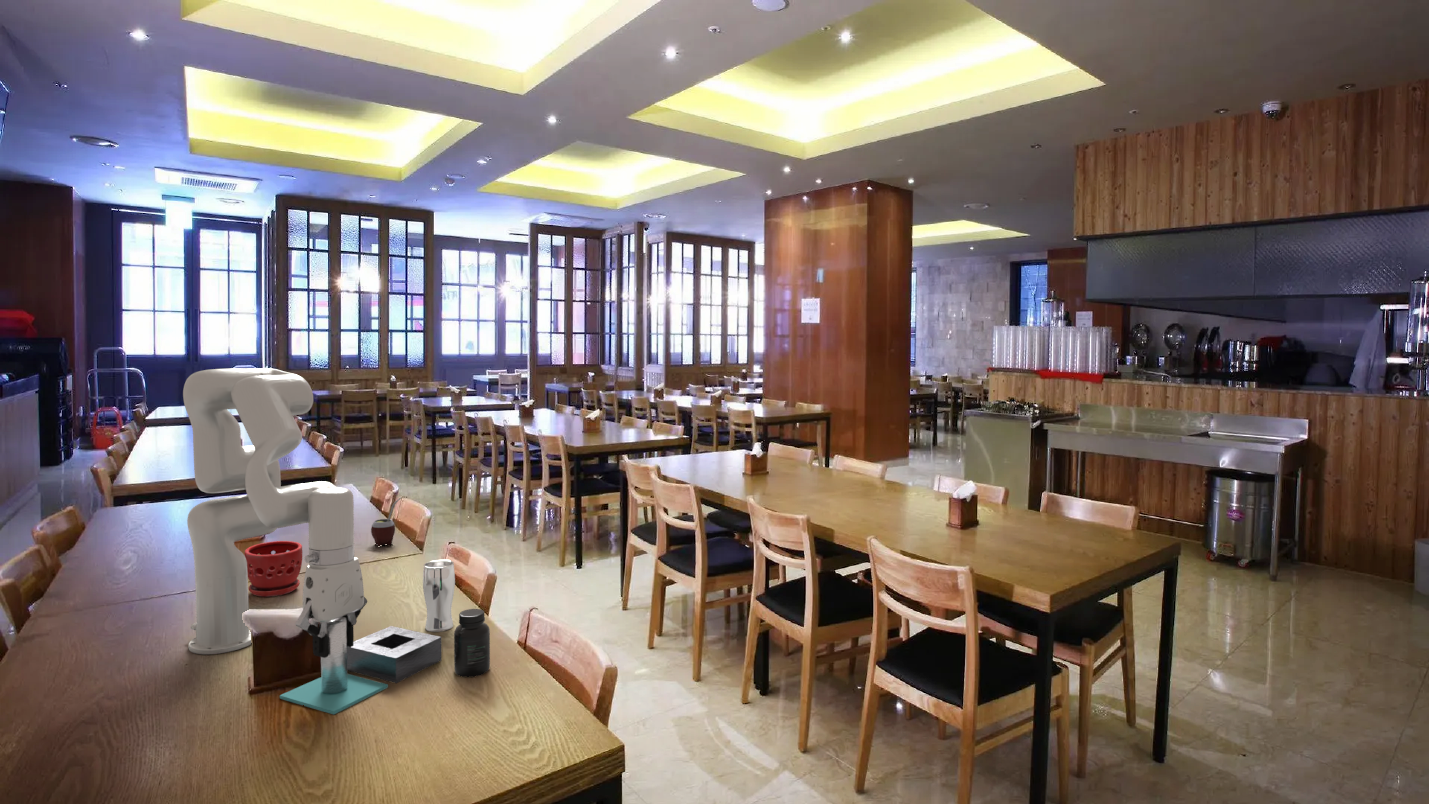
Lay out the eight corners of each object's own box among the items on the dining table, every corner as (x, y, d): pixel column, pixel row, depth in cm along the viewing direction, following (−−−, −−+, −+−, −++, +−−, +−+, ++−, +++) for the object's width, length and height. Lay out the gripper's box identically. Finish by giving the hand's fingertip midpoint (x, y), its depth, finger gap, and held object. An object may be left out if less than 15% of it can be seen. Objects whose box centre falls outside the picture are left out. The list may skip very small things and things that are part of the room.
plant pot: (233, 595, 197) (232, 550, 196) (279, 581, 209) (278, 538, 208) (269, 603, 192) (268, 556, 191) (314, 588, 204) (313, 543, 203)
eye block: (344, 669, 154) (343, 645, 154) (391, 648, 165) (391, 625, 165) (396, 683, 148) (395, 658, 148) (441, 660, 159) (441, 637, 159)
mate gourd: (366, 547, 245) (366, 500, 244) (381, 541, 253) (380, 496, 252) (388, 548, 244) (387, 502, 243) (402, 542, 252) (401, 497, 250)
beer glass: (444, 634, 174) (444, 569, 173) (417, 631, 175) (416, 566, 174) (460, 623, 181) (460, 560, 179) (434, 620, 182) (433, 558, 181)
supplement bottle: (453, 666, 157) (452, 609, 156) (487, 661, 159) (487, 605, 158) (455, 680, 150) (455, 620, 149) (491, 674, 153) (491, 616, 152)
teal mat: (279, 698, 141) (279, 695, 141) (335, 673, 152) (335, 670, 152) (333, 714, 136) (333, 711, 136) (387, 687, 147) (387, 684, 147)
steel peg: (316, 690, 143) (314, 622, 142) (336, 681, 147) (335, 614, 146) (332, 695, 141) (331, 626, 140) (352, 685, 145) (351, 618, 144)
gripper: (305, 569, 133) (307, 671, 134) (383, 546, 148) (384, 638, 150) (275, 563, 136) (278, 663, 137) (355, 542, 151) (357, 632, 153)
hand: (333, 649), depth 143 cm, fingers open, 4 cm apart
